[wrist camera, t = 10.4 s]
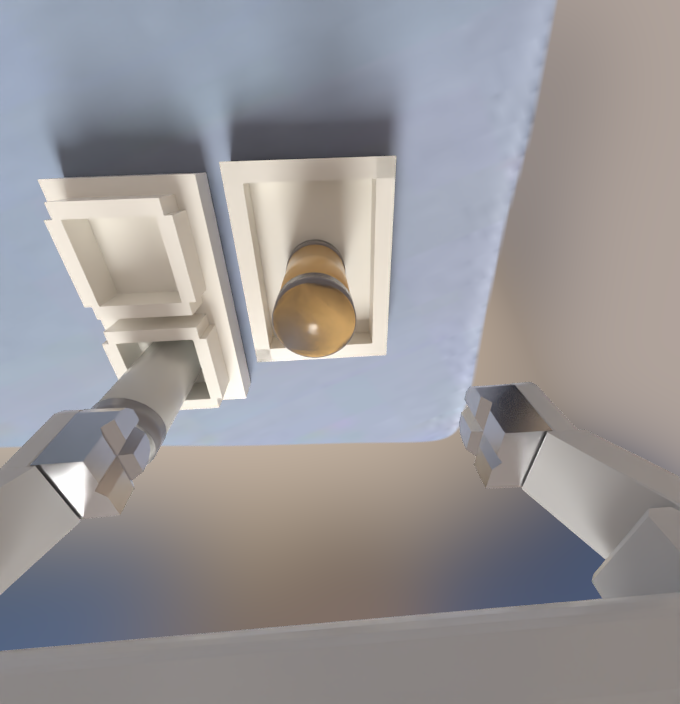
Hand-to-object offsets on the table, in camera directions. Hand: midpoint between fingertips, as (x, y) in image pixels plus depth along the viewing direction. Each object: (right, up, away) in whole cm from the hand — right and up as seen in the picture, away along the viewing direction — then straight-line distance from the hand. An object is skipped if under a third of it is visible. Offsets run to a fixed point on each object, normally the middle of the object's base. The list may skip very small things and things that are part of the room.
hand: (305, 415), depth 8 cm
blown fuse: (-1, +7, +13) cm, 15 cm away
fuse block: (-11, +5, +14) cm, 19 cm away
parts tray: (-1, +8, +14) cm, 16 cm away
